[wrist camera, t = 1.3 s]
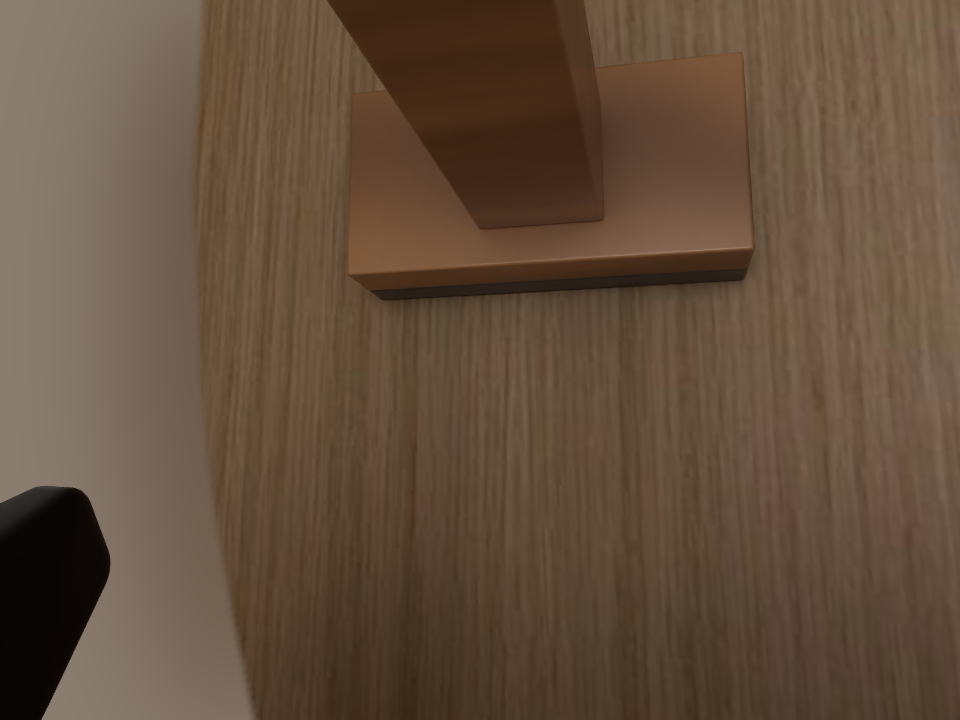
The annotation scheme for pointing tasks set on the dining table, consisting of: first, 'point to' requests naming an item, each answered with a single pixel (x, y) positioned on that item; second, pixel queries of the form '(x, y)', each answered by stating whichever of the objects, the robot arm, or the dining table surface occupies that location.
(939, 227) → the dining table surface
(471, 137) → the eraser
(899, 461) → the dining table surface
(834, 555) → the dining table surface
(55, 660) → the robot arm
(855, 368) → the dining table surface
